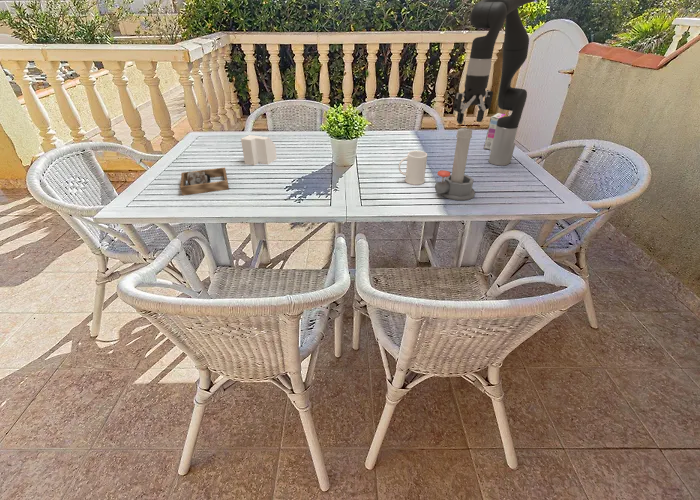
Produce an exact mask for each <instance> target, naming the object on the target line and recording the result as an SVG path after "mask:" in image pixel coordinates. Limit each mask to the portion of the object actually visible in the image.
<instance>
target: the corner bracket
mask: <svg viewBox="0 0 700 500" xmlns="http://www.w3.org/2000/svg"><path fill="white" fill-rule="evenodd" d="M240 142H241V148H242V154H243V160H244V165H249V166H250V165H251V166H256V165H258V164H263V165H270V164H271V163H273V162H275V161H276V160H278V157H277V148H276V143H274V141H273V140H272V139H271V138H270V137H269V136H268V137H267V136H260V135H254V134H253V135H252V134H249V135H246V136H244V137H242V138H241V139H240Z"/></svg>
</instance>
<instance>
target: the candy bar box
mask: <svg viewBox="0 0 700 500" xmlns="http://www.w3.org/2000/svg"><path fill="white" fill-rule="evenodd" d="M501 117H507V114H505V113H501V112H500V113H499V112H497V113H495V114H494V115H492V116H490V119H489V123H488V128H487V131H486V132H487V133H486V137H485V142H484V147H483V149H484V150H489V151H491V148H492V143H493V139H494V134H495V129H496V125H497V121H498V119H499V118H501Z"/></svg>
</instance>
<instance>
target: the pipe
mask: <svg viewBox="0 0 700 500" xmlns="http://www.w3.org/2000/svg"><path fill="white" fill-rule="evenodd" d="M463 123H464V125H466V121H465V119H464V118H463ZM472 135H473V129H470V128H467V127H464V128H461V127H460V128H458V129H457V132H456V135H455V136H456V144H455V148H454V149H455V150H454V157H453V162H452V163H453V164H452V168H451V169H452V170H451V174H452V175H451V174H450V175H451V181H452V182H455V183H461V184H462V183H463V178H464V175H465V172H466V165H467V159H468V153H469V148H470V142H471V139H472V138H473V136H472Z"/></svg>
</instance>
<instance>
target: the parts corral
mask: <svg viewBox="0 0 700 500" xmlns="http://www.w3.org/2000/svg"><path fill="white" fill-rule="evenodd" d="M188 172H189V171H184V172H180V173H181V175H180V185H179V186H180V192H181V194H182V196H188V195H189V196H190V195H196V194H204V193H210V192H211V193H212V192H217V191H226V190H230V187H229V182H228V181H229V180H228V175H227V170H226V167H219V168H208V169H202V170H192V171H190V172H205V174H208V175H210V179H211V178H219V177H223V178H224V180H220V181H213V182H211V181H210V182H207V183H203V184H195V185H189V184H188V185H187V182H188V181H187V177H188Z"/></svg>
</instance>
